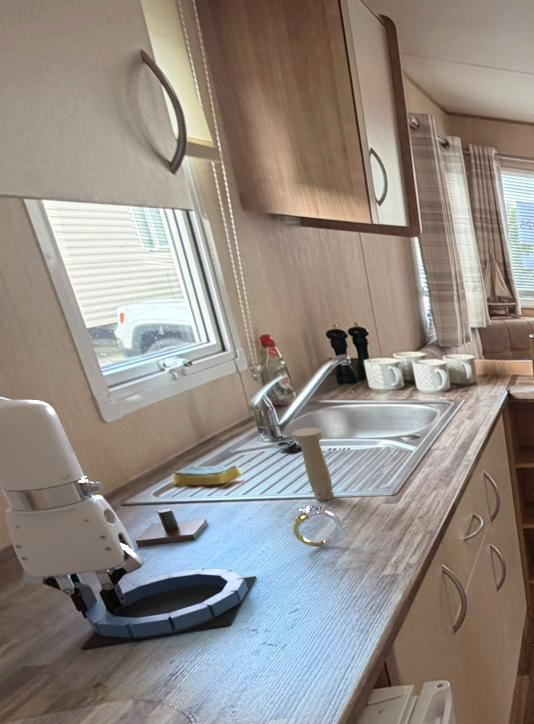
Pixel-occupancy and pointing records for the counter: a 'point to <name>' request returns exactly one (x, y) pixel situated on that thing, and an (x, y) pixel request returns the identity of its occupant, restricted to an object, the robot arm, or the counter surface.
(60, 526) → the robot arm
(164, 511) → the dowel stand
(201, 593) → the mat
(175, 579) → the ring
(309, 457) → the handle
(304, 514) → the ring
